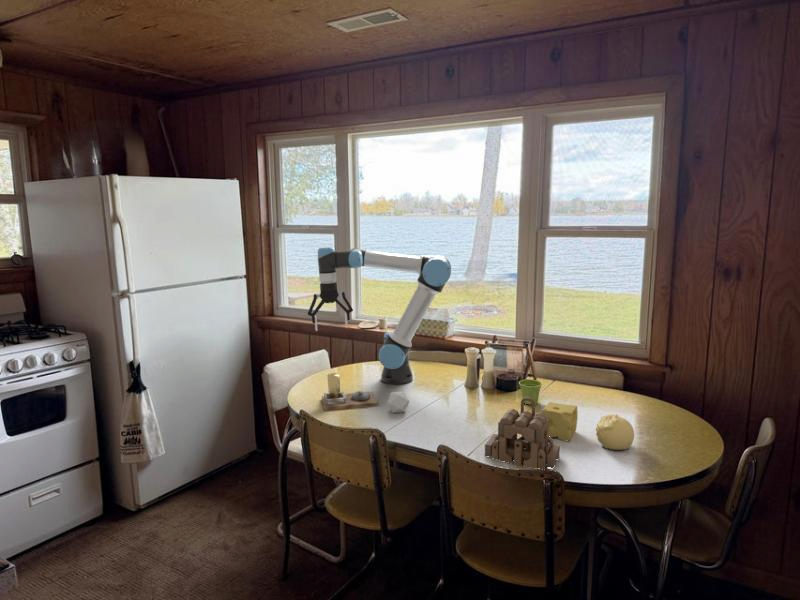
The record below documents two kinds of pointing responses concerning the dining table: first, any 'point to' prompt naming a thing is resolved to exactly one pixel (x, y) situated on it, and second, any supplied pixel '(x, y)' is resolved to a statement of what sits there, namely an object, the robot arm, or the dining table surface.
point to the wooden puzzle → (523, 439)
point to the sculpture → (615, 432)
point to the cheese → (561, 420)
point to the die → (398, 402)
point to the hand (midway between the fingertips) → (331, 328)
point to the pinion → (334, 385)
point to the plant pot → (530, 390)
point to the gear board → (349, 401)
